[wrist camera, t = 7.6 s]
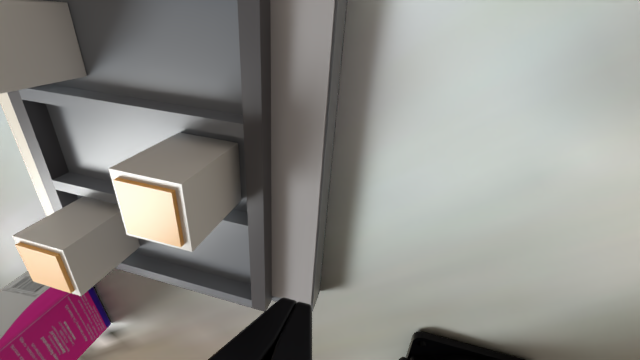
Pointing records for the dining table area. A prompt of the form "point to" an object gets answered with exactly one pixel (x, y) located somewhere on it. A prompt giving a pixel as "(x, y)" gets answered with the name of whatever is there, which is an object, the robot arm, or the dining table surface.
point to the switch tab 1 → (37, 44)
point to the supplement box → (47, 321)
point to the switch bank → (201, 128)
